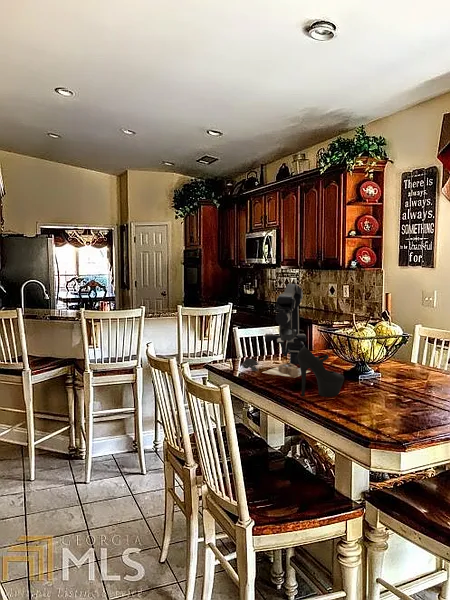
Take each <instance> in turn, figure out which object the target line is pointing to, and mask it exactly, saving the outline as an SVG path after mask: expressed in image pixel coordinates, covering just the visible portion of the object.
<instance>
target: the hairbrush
mask: <svg viewBox="0 0 450 600" xmlns="http://www.w3.org/2000/svg"><path fill="white" fill-rule="evenodd" d="M258 365H259V363H258V362H257V361H256V359H253V358H245V360H244V359H243V362H242V367H243V368H245V369H249V368H251V370H250V371H251V372H256V371H259V369H258V368H257V366H258Z"/></svg>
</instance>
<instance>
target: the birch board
mask: <svg viewBox="0 0 450 600" xmlns="http://www.w3.org/2000/svg"><path fill="white" fill-rule="evenodd" d="M297 370H298V368H297ZM311 372H312V370H307V371H306V374H308V373H311ZM261 373H263V374H268V375H275V376H281V377H289V378H294V379H295V378H297V377H292V376H291V375H289V374H283V373H281V372H280V371H278V366H277V367H273V368H270V369H268V370H265V371H262V372H261ZM300 376H301V375H298V377H300Z"/></svg>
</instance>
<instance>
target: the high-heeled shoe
mask: <svg viewBox="0 0 450 600" xmlns="http://www.w3.org/2000/svg"><path fill="white" fill-rule="evenodd" d="M297 358H298V361H299V364H298V365H299V368H300V370H301V392H300V393H301V394H300V395H301V396H305V395H306V384H307V383H306V382H307V381H306V380H307V373H306V371H308V370H309V369H310V371H311V372H313V375H314V376H315V378H316V383H317V388H318V395H319V396H320V397H324V398H328V397H330V398H332V397H336V396H338V395H339V394H340V391H341V389H342V386H343V384H344V381H345V376H344V375H343V374H340V373H338V372H335V371H333V370H332V371H330V370H329V371H328V370H327V369H326V368H325V366H324V362H325V361H326V360H328V359H329V354H322V355H317V356H315V354H314V353H312V351H310V349H309V348H307V347H306V346H305V347H303V348H302V349H301V350H300V351H299V353H298V355H297Z"/></svg>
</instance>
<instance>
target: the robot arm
mask: <svg viewBox="0 0 450 600" xmlns="http://www.w3.org/2000/svg"><path fill="white" fill-rule="evenodd" d="M303 297H304V292H303V289H302V288H301V287H299V286H298V284H296V283H288V284H286V287H285V289H284V292H283V293H280V294H279V295H278V297H277V298H276V303H275V311H278V313H276V315H275V316H274V317H275V322H276V323H277V324H278V325H279V326H278V331H279V333H278V335H276V334H275V335H274V333H265V334H264V342H273V341H274V340H276V343H277V344H279V345H280V347H281V349H282V353H283V356H284V357H287V355H288V354H289V364H293V365H299V361H298V358H297V355H298V353H299V351H300V350H301V349H302V348H303V347H306V345H305V344H304V342H305V343H306V342H307V335H306V334H305V333H300V315H299V314H300V313H299V311H300V309H299V306H300V304H301V302H302V301H303ZM285 341H286V342H285Z"/></svg>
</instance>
